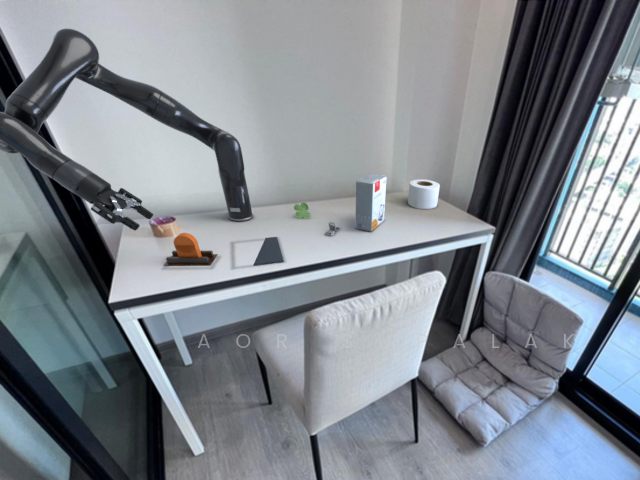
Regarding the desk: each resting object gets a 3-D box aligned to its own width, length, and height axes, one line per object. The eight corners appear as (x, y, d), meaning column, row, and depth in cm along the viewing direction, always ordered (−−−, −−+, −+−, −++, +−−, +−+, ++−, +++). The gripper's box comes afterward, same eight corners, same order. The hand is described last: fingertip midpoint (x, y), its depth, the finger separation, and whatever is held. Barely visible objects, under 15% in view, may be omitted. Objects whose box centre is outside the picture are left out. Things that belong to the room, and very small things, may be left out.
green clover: (304, 225, 150) (304, 222, 143) (290, 213, 147) (289, 210, 141) (314, 213, 151) (315, 210, 144) (300, 201, 148) (300, 198, 142)
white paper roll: (422, 211, 162) (425, 189, 156) (401, 202, 171) (403, 181, 165) (442, 205, 171) (446, 185, 165) (422, 197, 180) (424, 177, 174)
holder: (163, 268, 102) (160, 260, 101) (174, 256, 109) (171, 248, 107) (211, 268, 104) (208, 260, 103) (218, 256, 111) (216, 248, 109)
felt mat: (231, 242, 120) (231, 241, 120) (277, 238, 126) (276, 236, 125) (232, 268, 105) (232, 266, 105) (283, 261, 111) (283, 260, 111)
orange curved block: (180, 261, 105) (170, 235, 99) (183, 258, 106) (174, 232, 101) (200, 261, 105) (191, 236, 100) (202, 258, 107) (194, 232, 102)
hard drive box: (371, 232, 136) (372, 184, 125) (355, 229, 138) (354, 181, 127) (384, 220, 149) (386, 175, 137) (369, 217, 150) (370, 172, 139)
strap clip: (331, 236, 130) (331, 226, 128) (324, 235, 131) (324, 225, 128) (340, 229, 137) (340, 219, 135) (333, 227, 138) (333, 218, 135)
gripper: (92, 184, 96) (149, 221, 104) (58, 200, 84) (126, 240, 93) (104, 166, 93) (162, 205, 102) (71, 180, 82) (139, 223, 90)
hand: (144, 222), depth 97 cm, fingers open, 8 cm apart
